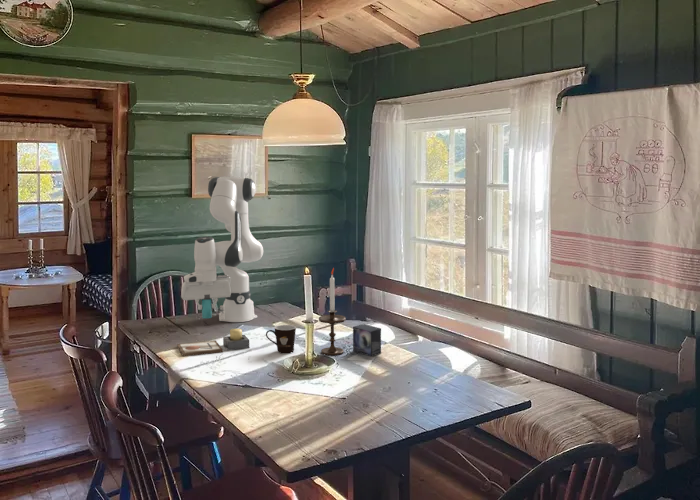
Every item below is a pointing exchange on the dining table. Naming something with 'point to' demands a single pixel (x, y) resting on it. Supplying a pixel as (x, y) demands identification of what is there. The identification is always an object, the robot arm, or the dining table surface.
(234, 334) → the button cap
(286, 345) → the coffee mug
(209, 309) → the teal bottle
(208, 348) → the board
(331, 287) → the candlestick
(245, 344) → the button housing
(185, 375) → the dining table surface
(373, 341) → the small box
